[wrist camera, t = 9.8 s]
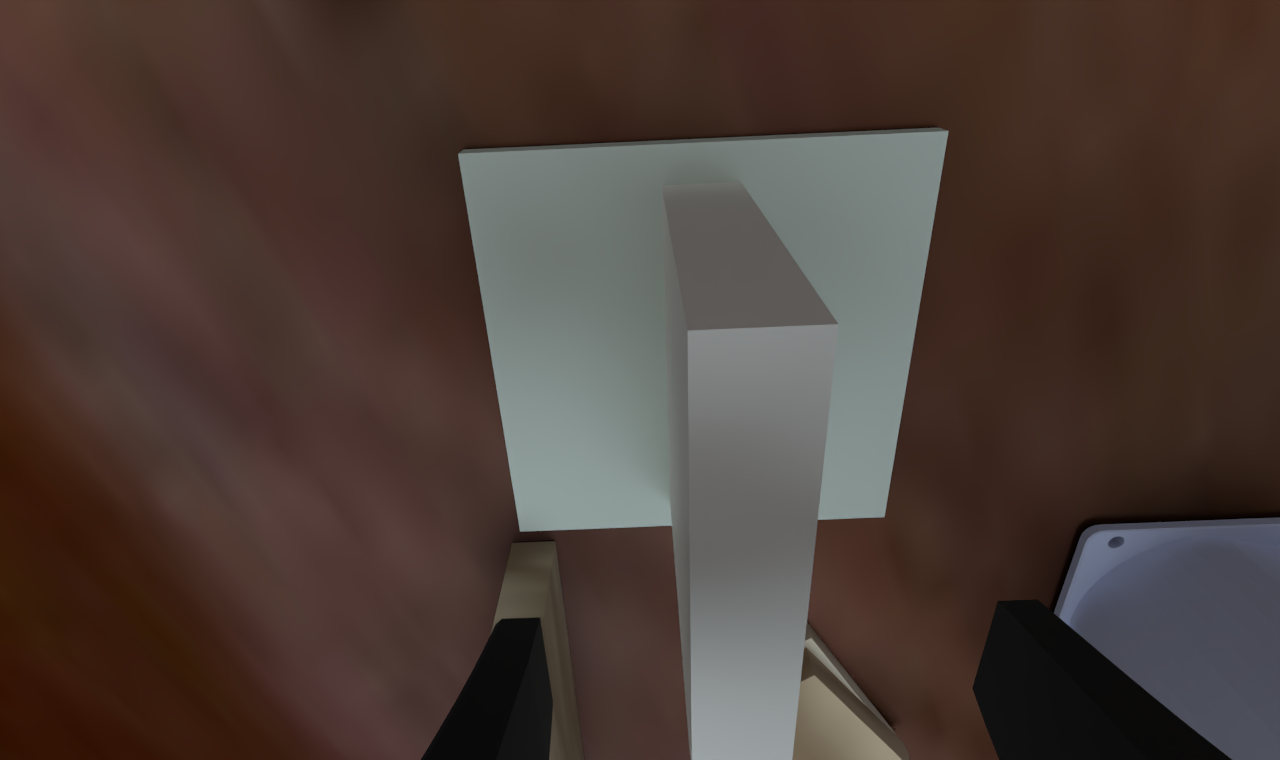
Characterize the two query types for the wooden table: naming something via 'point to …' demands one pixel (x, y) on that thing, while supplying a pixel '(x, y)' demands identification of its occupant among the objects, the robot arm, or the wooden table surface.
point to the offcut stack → (838, 713)
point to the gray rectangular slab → (742, 464)
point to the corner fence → (545, 633)
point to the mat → (635, 305)
